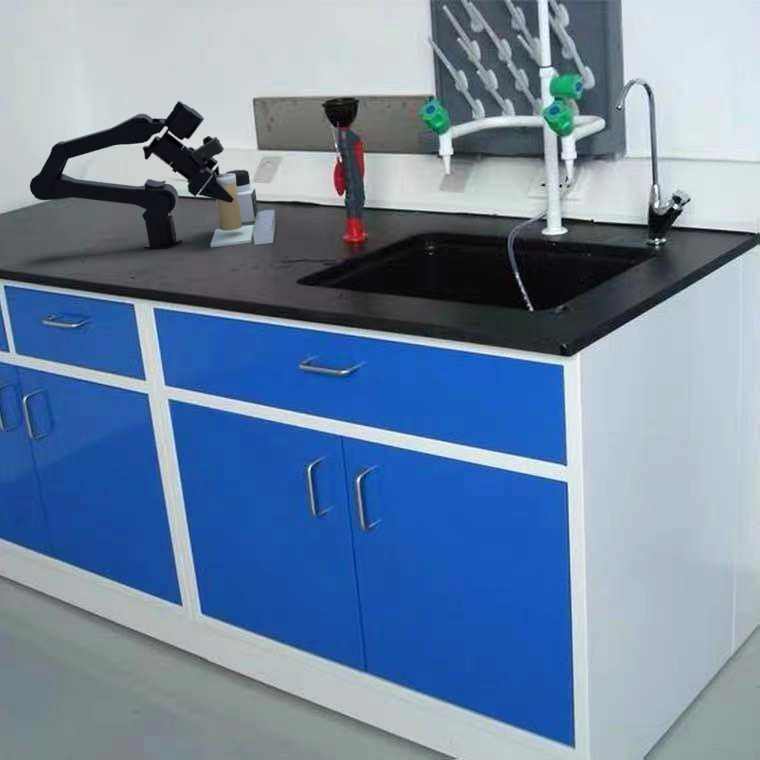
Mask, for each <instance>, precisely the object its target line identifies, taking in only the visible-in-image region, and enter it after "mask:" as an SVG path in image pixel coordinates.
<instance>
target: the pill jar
mask: <svg viewBox="0 0 760 760" xmlns="http://www.w3.org/2000/svg"><path fill="white" fill-rule="evenodd" d="M216 176H217V181H218V183H219V184H220V185H221V186H222V187H223V188H224V189H225V190H226V191H227V192H228V193H229V194H230V195H231V196H232V197H233V199H234V200H233V201H232V202H231V203H229V202H226V201H222V200H218V199H215V201H216V210H217V217H218V222H219V229H221V230H224V231H227V230H235V229H239V228H241V227H242V226H243V223H242V220H241V214H240V207H239V200H238V193H237V186H236V176H235V174H234V173H226V172H225V173H220V174H219V175H216Z"/></svg>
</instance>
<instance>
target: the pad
mask: <svg viewBox="0 0 760 760" xmlns="http://www.w3.org/2000/svg"><path fill="white" fill-rule="evenodd" d="M253 229H254V224H250V225H248V224H247V225H242V227H241V228H239V229H235V230H227V231H224V230H221V229H220V228H217V229H215V230H214V233H213V236H212V238H211V242H210V245H209V246H210V248H217V247H218V248H219V247H224V246H225V247H227V246H233V245H241V244H251V243H252V239H253V237H254V236H253Z"/></svg>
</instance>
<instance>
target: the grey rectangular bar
mask: <svg viewBox="0 0 760 760" xmlns="http://www.w3.org/2000/svg"><path fill="white" fill-rule="evenodd" d="M276 223H277V222H276V214H275V209H267V208H265V209H264V210H261V211H259V210H258V212H257V215H256V220H255V222H254V224H253V225H254V229H253V236H252V237H253V241H254V246H257V245H259V246H260V245H265V244H273V243H274V237H275V232H276V231H275V230H276V225H277V224H276Z"/></svg>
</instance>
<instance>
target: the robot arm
mask: <svg viewBox="0 0 760 760" xmlns="http://www.w3.org/2000/svg"><path fill="white" fill-rule="evenodd" d="M204 120H205V118H204V116H202V114H200V113H199V112H198V111H197V110H195V109H194V108H193V107H190V106H188V105H187V104H185V103H183V102H182V101H180V100H178V101H177V102H176V104H174V107H173V109H172V111H170V113H169V115H168V116H167V117H166V118H162V117H161V118H157V117H156V118H152V117H151V116H150V115H148V114H146V113H138V114H136V115H134V116H132V117H130V118H128V119H126V120H124V121H122V122H120V123H118V124H116V125H114V126H112V127H110V128H107V129H102V130H99V131H95V132H92V133H90V134H86V135H82V136H79V137H75V138H72V139H69V140H63V141H59V142H57V143H55V144H54V145H53V146H52V147H51V150H50V153H49V155H48V157H47V159H46V161H45V163H44V164H43V166H42V168H41V170H40V172H39V173H38V174H36V175H34V177H32V179H31V180H30V182H29V183H30V184H29V190H30V192H31V194H32V195H33V196H34V198H35V199H36V200H40V201H55V200H56V201H57V200H58V201H59V200H64V199H69V198H72V199H73V198H74V199H75V198H76V199H83V200H84V199H85V200H92V201H101V202H107V203H117V204H127V205H134V206H137V207H139V208H141V209H144V212H143V214H142V216H141V217H142V218H143V220H144V222H145V223H144V224H145V228H146V235H147V241H148V243H147V244H146V245H144V246H143V248H144V249H168V248H169V249H170V247H172V246H175V245H177V244H180V243H181V242H183V240H182V239H181V238H177V235H176V234H177V233H176V229H175V223H174V222H175V221H174V219H173V215H172V214H171V213H172V211H174V208H175V207H176V205H177V203H178V200H179V193H178V190H177V189H176V188H175V187H174V185H172V184H169V183H167V181H166V180H162V181H159V180H154V179H150V178H147V180H146V181H145V183H144V185H138V186H137V185H129V184H119V183H112V182H103V181H95V180H86V179H78V178H75V177H72V176H69V175H67V174H64V171H65V167H66V165H67V163H68V160H69V159H72V158H76V157H79V156H82V155H85V154H90V153H93V152H96V151H99V150H103V149H104V150H105V149H108V148H110V147H114V146H120V145H121V146H123V145H124V146H125V145H138V144H143V143H144V144H145V143H147V142H148V141H150V139H151V138H152V137H153V136H154V135H155V136H154V138H153V139H152V141H151V142H150V143H149V144H148V145H143V147H142V151H143V154H144V155H143V156H144V159H145V160H148V159H150V157H151V156H152V154H153V155H154V156H155V157H157V158H158V159H160V161H162V162H163V163H165V164H166V165H167V166H169V167H170V168H171V171H172V172H173V173H175V174H176V173H178V174H179V175H181V176H182V177H183V178H185V179H186V180H187V181H186V182H187V183H188V184H187V191H188V192H189V193H190V194H191V195H192V196H194V197H197V195H198V196H200V197H201V196H203V197H207V198H210V199H215V200H216V199H218V200H222V201H226V202H229V203H231V202H232V201H233V200H234V199H233V197H232V196H231V195H230V194H229V193H228V192H227V191H226V190H225V189H224V188H223V187H222V186H221V185H220V184H219V183H218V181H217V176H216V175H219V174H221V173H220V165H217V164H218V163H219V161H218V160H217V159H215V158H214V156H216V155H217V156H218V155H220V154H221V153H223V152H224V149H225V148H224V146H223V145H222V144H221V142H220V139H218V137H217V136H214V137H212V136H210V135H208V136H205V137H204V138H203V139H202V145H200V146H199V147H198V148H196V149H195V148H194V147H192V146H189V147H187V146H186V145H185V144H184V143H182V142H181V141H183V140H184V139H186V140H190V139H191V137H192V136H193V135H194V133H196V131H197V129H198V128H199V127H200V125H201V124H202V123H203V121H204ZM165 127H166V128H167V129H166V130H165V132H164V133H163V134H162V136H160V137H159V135H157V134H160V133H161V132H162V131H163V130H164V128H165ZM170 133H171V134H170ZM215 166H216V168H215Z"/></svg>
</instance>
